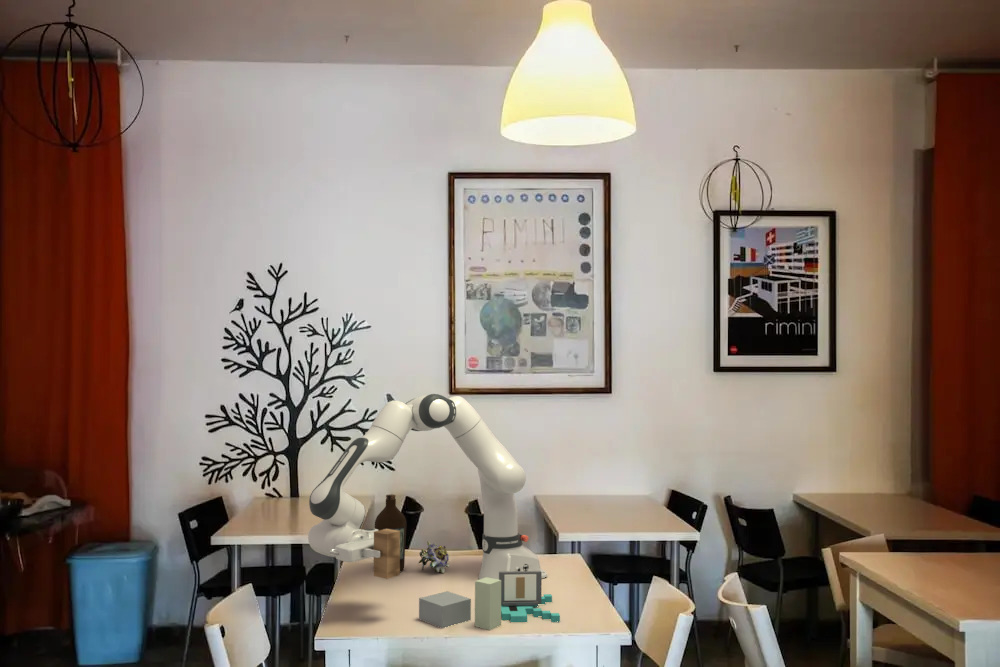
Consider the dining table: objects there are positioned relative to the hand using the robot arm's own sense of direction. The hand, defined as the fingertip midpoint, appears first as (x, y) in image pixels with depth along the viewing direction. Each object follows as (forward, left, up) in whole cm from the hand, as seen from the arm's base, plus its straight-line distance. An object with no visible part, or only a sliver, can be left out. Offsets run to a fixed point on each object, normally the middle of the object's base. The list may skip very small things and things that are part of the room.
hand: (389, 551), depth 227 cm
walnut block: (0, -1, -6) cm, 7 cm away
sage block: (-22, +17, -18) cm, 33 cm away
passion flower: (-32, -41, -19) cm, 55 cm away
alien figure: (-36, +10, -19) cm, 42 cm away
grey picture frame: (-36, +10, -16) cm, 40 cm away
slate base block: (-14, +7, -19) cm, 24 cm away
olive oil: (-20, -49, -19) cm, 56 cm away
